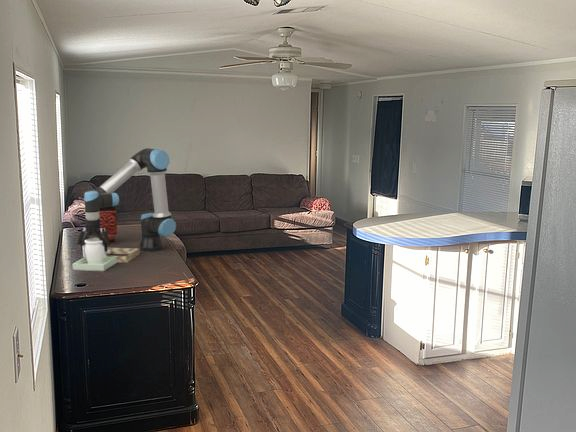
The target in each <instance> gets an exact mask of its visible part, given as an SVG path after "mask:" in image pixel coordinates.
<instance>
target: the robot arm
mask: <svg viewBox="0 0 576 432" xmlns="http://www.w3.org/2000/svg"><path fill="white" fill-rule="evenodd" d="M169 165H170V156H169V155H168V153H167V152H166V151H165V150H163V149H161V148H160V149H159V148H149V147H148V148H143V149H141V150H139V151H137V153H135V154H133V155H132V156H131V157H130V158H129V159H128V162H126V164H124V165H123V166H122V167H121V168H119V170H117V171H116V172H115V173H114V174H113V175H112V176H111V177H109V178H108V179H107V180H106V181H104V182H103V183H102V184H101V185H100V186H99V187H97V188H96V189H95V190H93V189H92V190H89V191H85V192H84V196H83V199H84V212H85V213H84V214H85V215H84V217H85V226H86V227H84V226H83V227H81V228H80V234H79V236H78V240H77V245H80V250H81V251H82V258H84V257H86V254H85V244H86V243H85V240H86V239H89V237H90V236H96V238H99V239H100V241H103V242H102V244H103V245H104V246H103V258H105V257H107V256H108V254H106V252H107V251H108V248H109V247H108V246H110V245H112V244H111V242H110V240H109V238H108V235H107V233H106V228H100V219H99V218H100V215H99V208H101V207H109V206H114V207H116V206H118V205H119V203H120V197H119V194H118V193H117V192H115V191H116V190H117V189H119V188H120V186H122V185H123V184H124V183H126V181H128V180H129V179H130V178H131V177H133V175H135V174H136V173H137V172H141V171H142V170H144V169H146V171H147V174H149V175H150V183H151V193H152V202H153V212H147V213H143V214H141V216H140V229H141V232H140V233H141V239H140V243H139V246H138V247H139V248H138V249H140V251H144V252H155V251H160V250H163V249H164V243H163V240H162V238H163V237H164V238H166V237H167V238H168V237H171V236H172V235H173V234H174V232H175V231H176V228H177V223H176V221H175V220H174V219H173V217H172V212H170V210H169V205H168V204H169V202H168V193H167V183H166V172H168V169H167V168H168V167H169ZM100 230H101V232H102V234H103V236H104V238H103V237H102V235H101V233H100ZM85 232H86V234H85ZM84 235H85V236H84Z"/></svg>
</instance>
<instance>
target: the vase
mask: <svg viewBox="0 0 576 432" xmlns="http://www.w3.org/2000/svg"><path fill="white" fill-rule="evenodd" d="M99 215H100V218H99V219H100V228H106V233H107V235H108V238H109V240H110V242H111V244H110V245H115V244H116V240H115V238H116V235H117V234H118V227H117V226H118V225H117V224H118V223H117V219H118V218H117V210H116V206H109V207H101V208H99ZM100 233H101V235H102V237H103V238H104V236H103V234H102V232H101V230H100Z"/></svg>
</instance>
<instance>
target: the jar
mask: <svg viewBox="0 0 576 432" xmlns="http://www.w3.org/2000/svg"><path fill="white" fill-rule="evenodd" d="M102 242H103V241H100V239H99V238H98V237H90V238H88V239H86V240H85V244H84V245H85V254H86V256H85V257H86V258H87V261H88V264H100V265H103V260H104V258H103V246H104V245H103V244H102Z"/></svg>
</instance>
